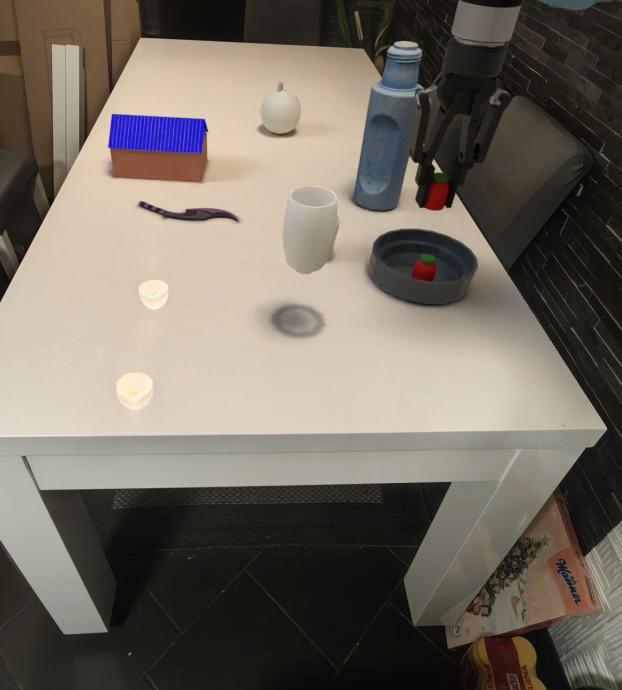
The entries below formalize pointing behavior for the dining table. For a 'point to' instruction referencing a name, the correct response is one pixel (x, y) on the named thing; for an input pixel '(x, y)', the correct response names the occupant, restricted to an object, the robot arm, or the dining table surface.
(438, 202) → the strawberry
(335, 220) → the cup
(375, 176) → the bottle
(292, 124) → the ornament
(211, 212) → the knife
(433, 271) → the strawberry
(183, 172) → the house
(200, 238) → the dining table surface
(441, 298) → the bowl
